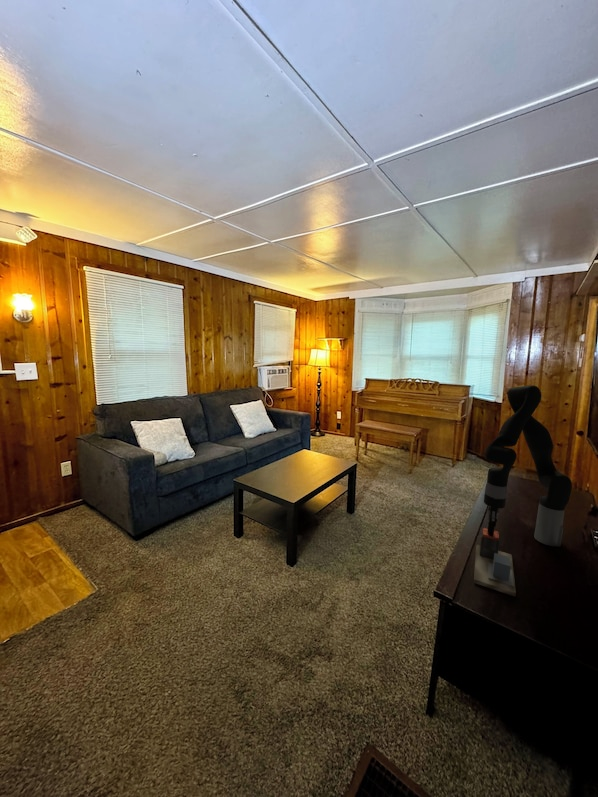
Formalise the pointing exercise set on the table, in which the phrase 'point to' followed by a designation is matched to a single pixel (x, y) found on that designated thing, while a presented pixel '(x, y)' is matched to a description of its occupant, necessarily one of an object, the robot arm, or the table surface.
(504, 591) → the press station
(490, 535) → the block
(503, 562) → the block
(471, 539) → the table surface
